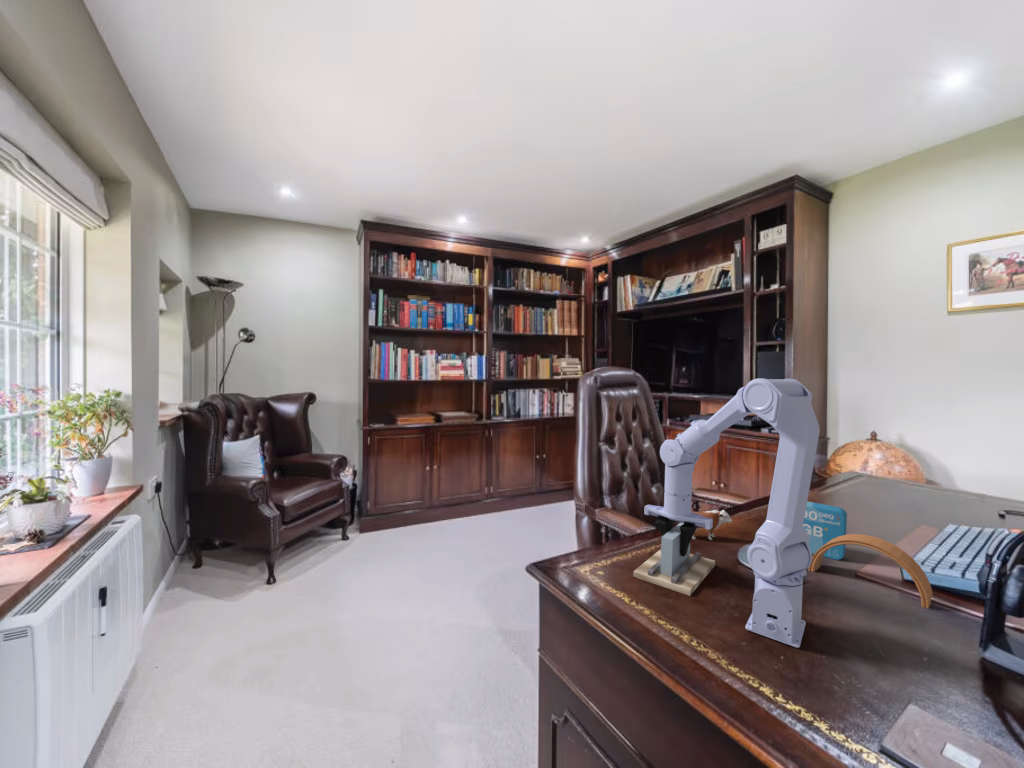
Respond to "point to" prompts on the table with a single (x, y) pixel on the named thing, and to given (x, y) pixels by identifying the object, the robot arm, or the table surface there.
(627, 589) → the table surface
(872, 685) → the table surface
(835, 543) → the arch
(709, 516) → the bull figurine
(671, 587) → the track board
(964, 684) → the table surface
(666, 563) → the grey rectangular block
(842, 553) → the data package
